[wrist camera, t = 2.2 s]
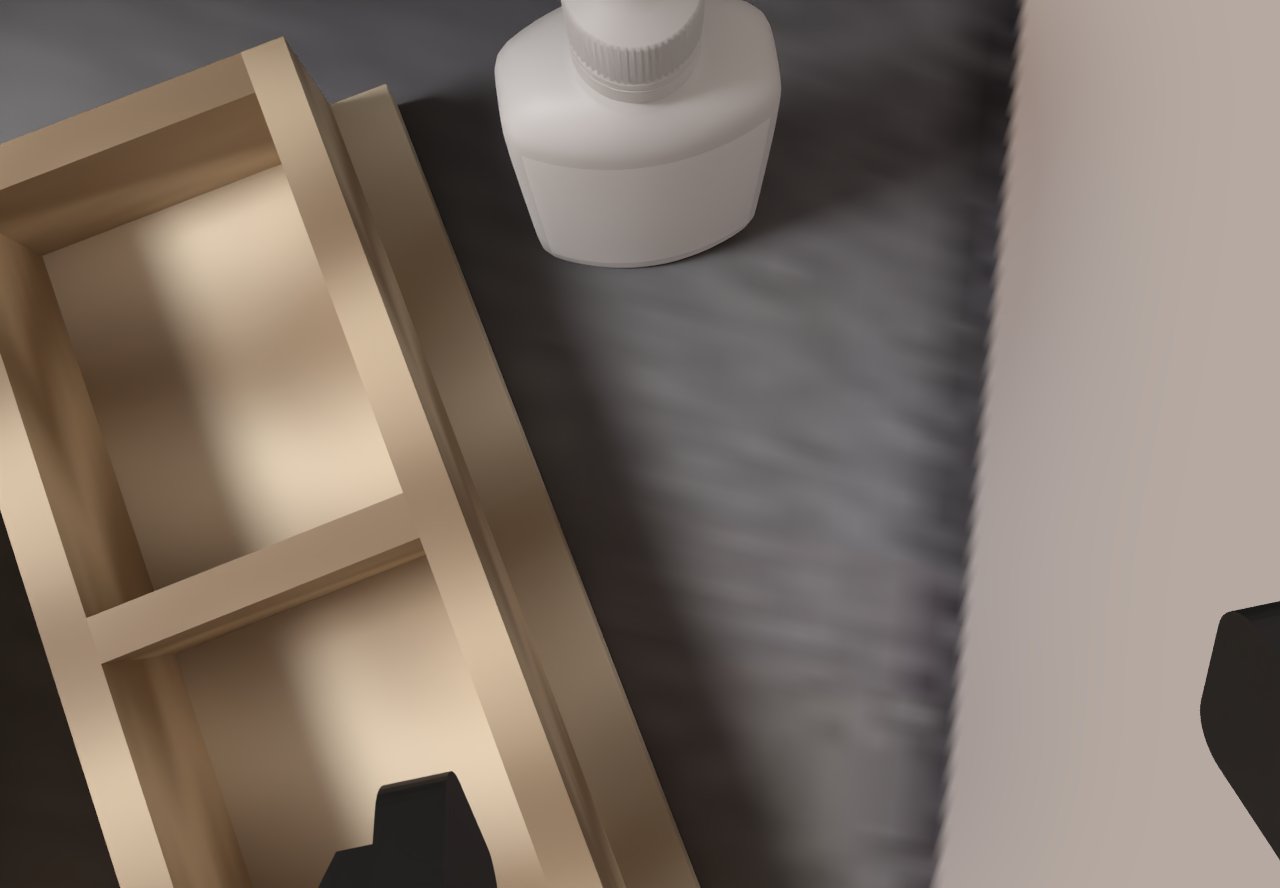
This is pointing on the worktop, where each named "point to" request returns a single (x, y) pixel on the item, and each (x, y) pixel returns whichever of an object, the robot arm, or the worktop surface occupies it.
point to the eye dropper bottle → (639, 125)
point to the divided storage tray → (291, 501)
